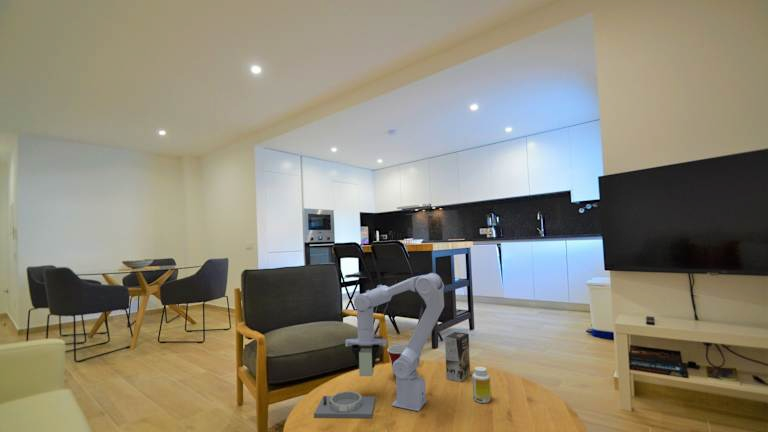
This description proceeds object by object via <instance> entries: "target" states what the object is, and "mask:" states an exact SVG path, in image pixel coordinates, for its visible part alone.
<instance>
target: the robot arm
mask: <svg viewBox="0 0 768 432" xmlns="http://www.w3.org/2000/svg"><path fill="white" fill-rule="evenodd" d="M442 280H443V279H442V278H441V277H440V275H439V274H437V273H435V272H429V273H428V274H422V275H417V276H414V277H413V276H412V277H410V278H406V280H405V279H404V280H403V281H401V282H398V283H396V284H393V285H391V286H387V285H386V284H385V285H383V284H378V285H377V286H376V288H373V289H371V290H370V289H368V290H366V291H365V292H363V293H359V294H357V295H356V296H355V297H354V301H353V305H354V308H355V309H356V315H357V316H356V318H357V320H356V321H357V322H356V323H357V337H356V338H349V339H348V338H347V339H345V341H344V345H345V347H351V352H352V353H353V355H354V358H355V360H356V363H357V368H358V369H359V352H360V350H361V347H363V346H364V347H365V346H367V347H368V346H369V347H370V346H371V349H372V368H375V366H376V359H377V355H378V352H379V350H380V347H386V346H387V344H388V343H387V339H386V338H375V334H374V333H375V331H374V329H375V328H374V326H375V325H374V308H375V307H377V306H380V305H382V304H385V303H388V302H390V301H391V300H392V297H393V296H395V295H398V294H401V293H404V292H406V291H412V292H413V293H414V292H415V293H416V292H417V293H418V294H419V296H420V297H421V298H422V300H423V301H424V303H425V305H426V307H425V310H424V311H423V314H422V316H421V318H420V320H419V321H418V324H417V326H416V328H415V329H414V331H413V334H412V335H411V337H410V339H409V341H408V343H407V344H408V345H407V347H406V348H405V350H404V351H403V353H402V354H401V356H400V357H399V359H397V360H396V361H395V362H394V363H393V366H392V365H391V367H392V369H391V370H392V372H393V375H394V374H395V376H396V379H395V388H396V389H395V391H396V399H395V400H394V401H393V402H392V403H391V406H393V407H398V408H401V409H406V410H411V411H416V412H419V411H420V410H421V409H422V407H423V406H424V405H425V404H426V403H427V401H428V399H427V393H426V392H427V390H426V387H427V386H426V379H425V378H424V377H421V376H419V375H418V371H417V368H418V367H419V366H420V357H421V356H422V351H423V349H424V347H425V344H426V343H427V342H428V340H429V337H430V336H431V333H432V332H433V330H434V327H435V325H436V324H437V322H438V320H439V317H440V316H441V313H442V312H443V309H444V308H445V296H444V295H445V294H444V287H445V284H444V282H443V281H442Z"/></svg>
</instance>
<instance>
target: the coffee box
mask: <svg viewBox="0 0 768 432" xmlns="http://www.w3.org/2000/svg"><path fill="white" fill-rule="evenodd" d="M469 335H470V334H469V333H468V332H467V333H466V332H458V331H457V332H456V331H453V332H452V333H450V334H448V335H446V336H445V337H444V342H445V343H444V346H445V371H446V372H445V373H446V374H445V378H446V379H447V380H450V381H454V382H458V383H461V382H463V381H464V380H465V379H467V378H468V377H469V376H470V375H471V360H470V359H471V357H470V338H469ZM466 377H467V378H466Z"/></svg>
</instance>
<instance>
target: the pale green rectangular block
mask: <svg viewBox="0 0 768 432" xmlns="http://www.w3.org/2000/svg"><path fill="white" fill-rule="evenodd" d="M374 368H375V367H374ZM374 368H372V348H360V352H359V368H358V370H359V377H373V374H374V371H375V369H374Z"/></svg>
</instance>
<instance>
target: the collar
mask: <svg viewBox="0 0 768 432" xmlns="http://www.w3.org/2000/svg"><path fill="white" fill-rule="evenodd" d="M326 396H327V395H324V396H322V398H323V404H324V405H326V404H327V399H326ZM330 396H331V398H330V407H331V409H332V410H334V411H336V412H351V411H355V410H357V409H358V408H360V407H361V405H362V396H363V395H361V394H360V393H359V392H357V391H353V390H351V391H349V390H348V391H340V392H337V393H335V394H333V395H330ZM345 398H352V399H355V400H358V401H356V402H355V403H351V404H347V405H344V404H337V403H334V402H336V401H338V400H341V399H345Z"/></svg>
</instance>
